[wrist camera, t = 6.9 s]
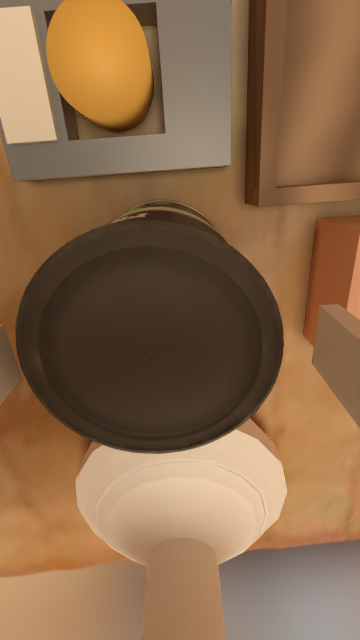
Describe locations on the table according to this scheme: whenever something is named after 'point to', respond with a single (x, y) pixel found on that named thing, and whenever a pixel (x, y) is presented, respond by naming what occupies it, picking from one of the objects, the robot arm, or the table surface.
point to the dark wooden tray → (303, 102)
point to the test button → (101, 62)
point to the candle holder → (183, 520)
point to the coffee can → (150, 332)
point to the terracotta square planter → (334, 269)
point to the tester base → (129, 151)
